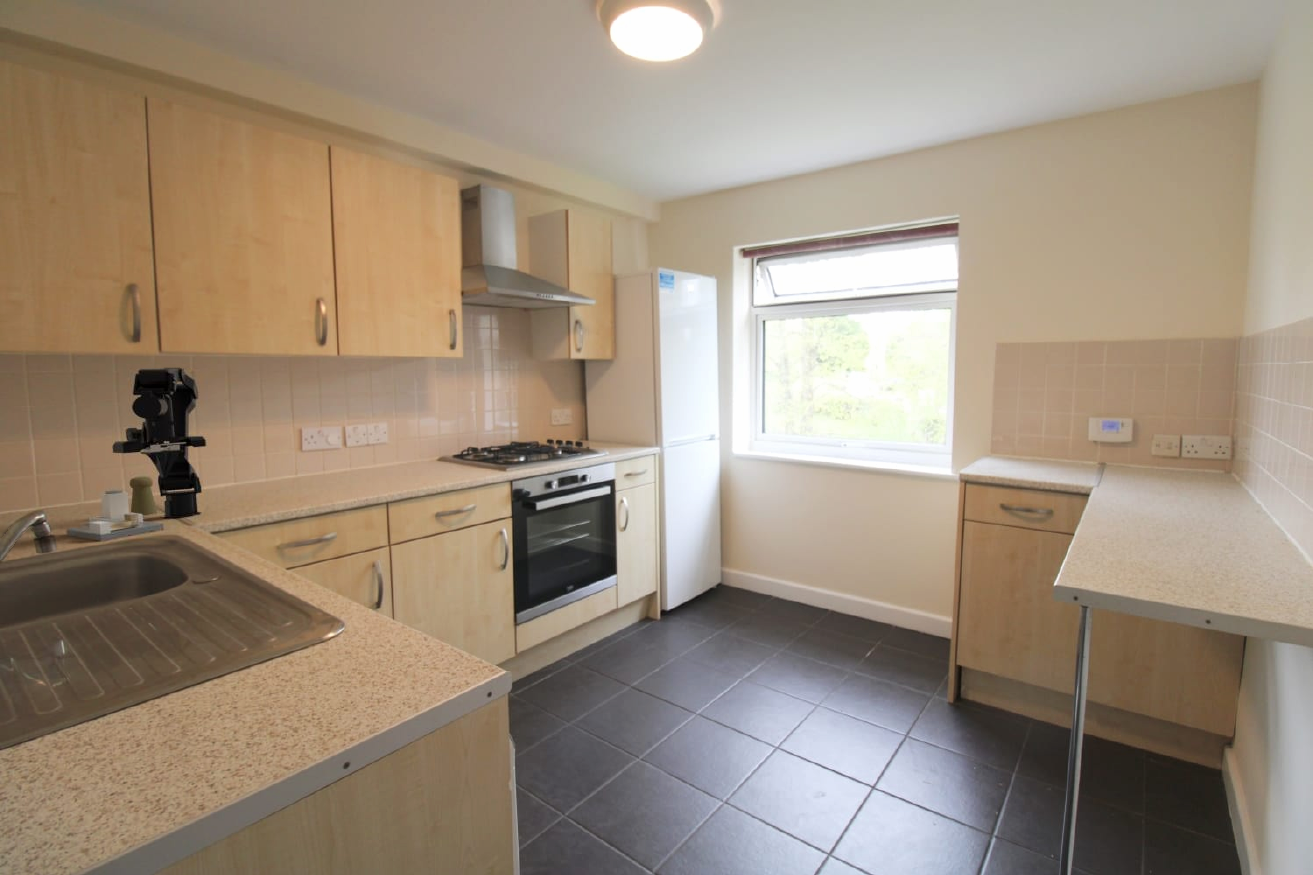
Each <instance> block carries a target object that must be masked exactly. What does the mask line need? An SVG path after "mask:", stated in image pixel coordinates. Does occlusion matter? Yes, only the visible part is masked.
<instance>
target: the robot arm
mask: <svg viewBox="0 0 1313 875" xmlns="http://www.w3.org/2000/svg"><path fill="white" fill-rule="evenodd" d="M134 376H135V377H134V383H133V390H132V395H133V396H138V397H137V398H135V400H134V401H133V402H132V405H131V410H132V412H133V413H134V414H135V415H136V417H139V418H141V419H144V421H142V424H141V428H140V429H138V428H137V427H128V428H126V429H125V437H126V438H125V439H126V440H120V441H114V443H113V444H112V454H134V453H140V454H141V455H145V456H147V457H148V458H149V459H150V460H151V461H152V463H153V464H154V467H155V469H156V471H157V472H158V474H159V475H157V476H158V477H157V484H158V488H159V493H160V497H165V501H164V505H163V506H164V514H163V516H164V517H167V518H174V519H177V518H183V517H190V516H191V517H192V516H196V515H201V514H202V512H201V511H198V502H197V500H198V499H197V494H201V493H203V491H202V482H201V480H200V477H199V476H198V475H197V474H198V473H197V472H196V470H195V468H194V467H193V465H192V464H191V463H190V461H189V447H193V448H202V447H203V448H204V447H207V441H206V440H207V439H206V438H205V437H204V436H203V435H200V436H198V435H190V436H189V425H190V424H189V423H190V422H189V421H190V419H189V418H190V414H191V412H192V411H193V410H194V409H195V408H196V404H197V400H199V390H198V385H197V383H196V380H195V379H193V378H192V377H190V376H189V375H187V374H186V372H185V369H184V368H182V367H163V368H139V370H138V373H135V375H134ZM180 382H181V383H180Z"/></svg>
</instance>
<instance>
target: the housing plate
mask: <svg viewBox="0 0 1313 875" xmlns="http://www.w3.org/2000/svg"><path fill="white" fill-rule="evenodd" d="M130 513H131V511H129V514H130ZM134 514H138V513H134ZM138 519H139V526H135V527H129V528H124V529H118V530H112V531H111V528H110V523H111V522H117V521H123V520H125V518H124V517H118V518H111V519H104V518H103V515H99V516H98V515H97V516H92V517H88V525H82V526H76V527H72V528H66V530H65V531H66V532H65V533H66V536H68V537H69V536H70V537H77V538H81V539H87V540H94V541H99V542H104V541H109V540H115V539H120V538H119V537H121V538H124V537H123V536H126V537H128V536H127V535H131V536H133V535H132V534H137V535H140V534H141V533H142V534H147V533H151V532H150V531H153V532H156V531H155V530H158V531H161V530H160V529H165V528H164V523H161V522H154V521H147V520H144V516H143V515H142V514H138ZM146 532H147V533H146ZM142 534H141V535H142Z"/></svg>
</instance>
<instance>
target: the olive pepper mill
mask: <svg viewBox="0 0 1313 875" xmlns="http://www.w3.org/2000/svg"><path fill="white" fill-rule="evenodd" d="M153 483H154V482H153V478H151V477H150V476H135V477H133V478H130V480H129V486H130V488H131V489H132V491H131V492H132V494H131V507H130V513H138V514H142V515H146V516H149V515H148V514H152V515H154V514H153V513H156V514H158V510H157V507H156V506H157V505H156V502H155V499H154V495H153V491H152V486H153Z"/></svg>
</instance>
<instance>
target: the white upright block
mask: <svg viewBox="0 0 1313 875" xmlns="http://www.w3.org/2000/svg"><path fill="white" fill-rule="evenodd" d="M128 495H129V494H128V492H127V491H123V489H110V490H105V491H104V492H103V493H100V500H101V501H100V502H101V512H102V516H103V518H104V519H111V518H118V517H124V514H129V512H130V505H129V496H128Z"/></svg>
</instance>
